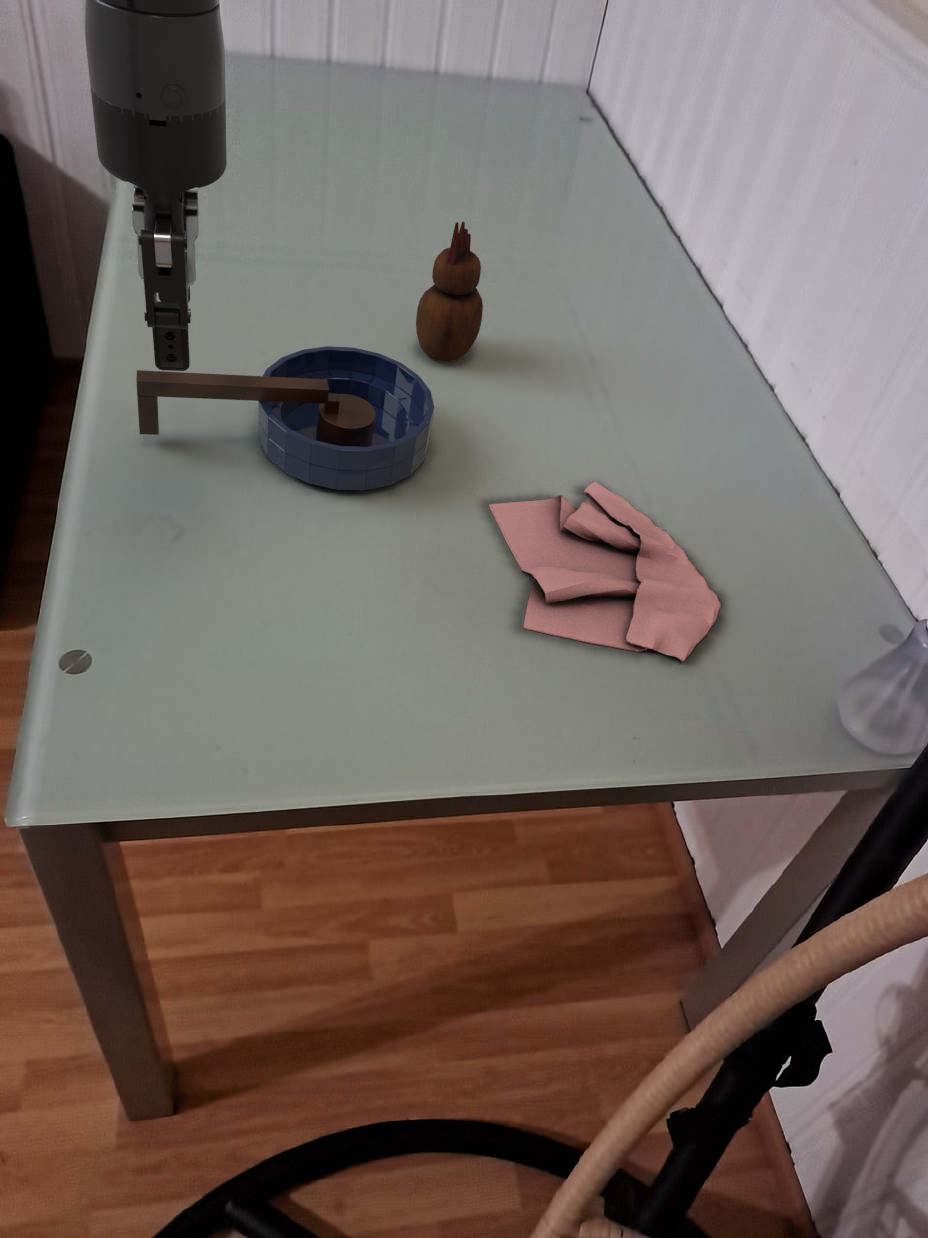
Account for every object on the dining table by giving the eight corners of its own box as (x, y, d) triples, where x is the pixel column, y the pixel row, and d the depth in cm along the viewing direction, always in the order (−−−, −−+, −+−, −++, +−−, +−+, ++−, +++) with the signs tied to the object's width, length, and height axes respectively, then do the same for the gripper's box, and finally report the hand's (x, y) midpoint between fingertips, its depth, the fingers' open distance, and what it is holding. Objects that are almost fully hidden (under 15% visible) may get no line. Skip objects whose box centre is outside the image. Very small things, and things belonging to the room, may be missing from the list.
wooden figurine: (437, 375, 99) (459, 236, 88) (402, 347, 101) (419, 209, 90) (484, 358, 102) (511, 222, 91) (449, 331, 105) (472, 196, 94)
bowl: (293, 510, 82) (295, 464, 78) (235, 403, 90) (234, 358, 86) (454, 477, 88) (462, 433, 84) (385, 380, 96) (390, 337, 93)
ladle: (139, 447, 82) (136, 393, 78) (139, 410, 85) (136, 357, 81) (375, 453, 87) (384, 404, 84) (367, 419, 91) (375, 369, 87)
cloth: (710, 687, 76) (721, 668, 74) (448, 605, 77) (452, 584, 75) (729, 527, 89) (738, 508, 88) (506, 460, 91) (511, 440, 89)
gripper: (98, 33, 59) (122, 278, 70) (79, 126, 50) (111, 390, 61) (223, 48, 61) (226, 285, 72) (228, 140, 51) (231, 394, 63)
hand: (173, 333), depth 67 cm, fingers open, 8 cm apart
